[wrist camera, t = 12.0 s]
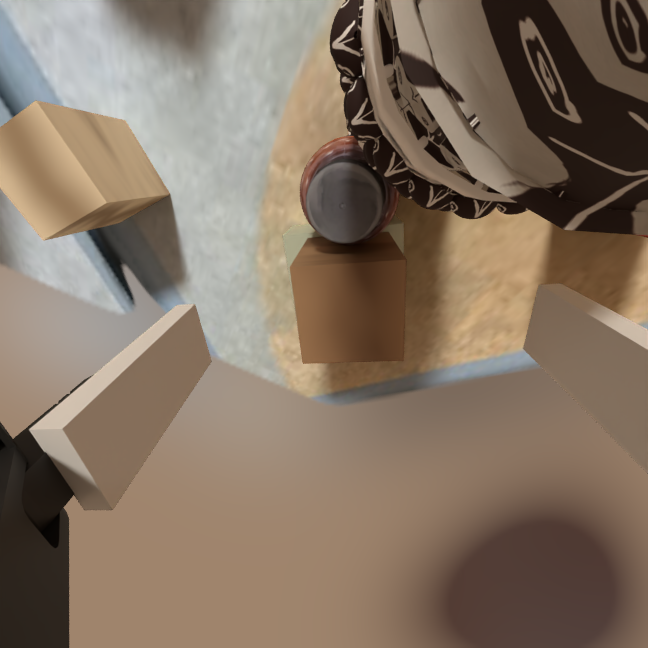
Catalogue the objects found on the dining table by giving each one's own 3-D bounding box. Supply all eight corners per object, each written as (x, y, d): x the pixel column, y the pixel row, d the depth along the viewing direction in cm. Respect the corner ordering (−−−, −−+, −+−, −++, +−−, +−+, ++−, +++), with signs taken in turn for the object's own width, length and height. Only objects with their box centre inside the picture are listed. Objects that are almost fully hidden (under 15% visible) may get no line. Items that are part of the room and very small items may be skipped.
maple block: (119, 223, 29) (43, 240, 21) (72, 155, 26) (-31, 150, 19) (170, 194, 27) (107, 202, 20) (125, 120, 25) (35, 100, 18)
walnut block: (315, 310, 26) (302, 363, 19) (307, 237, 23) (289, 267, 16) (388, 307, 25) (403, 360, 18) (388, 231, 23) (406, 259, 16)
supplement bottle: (332, 221, 27) (303, 271, 18) (313, 146, 25) (267, 158, 15) (401, 205, 26) (409, 250, 16) (389, 122, 23) (391, 119, 13)
